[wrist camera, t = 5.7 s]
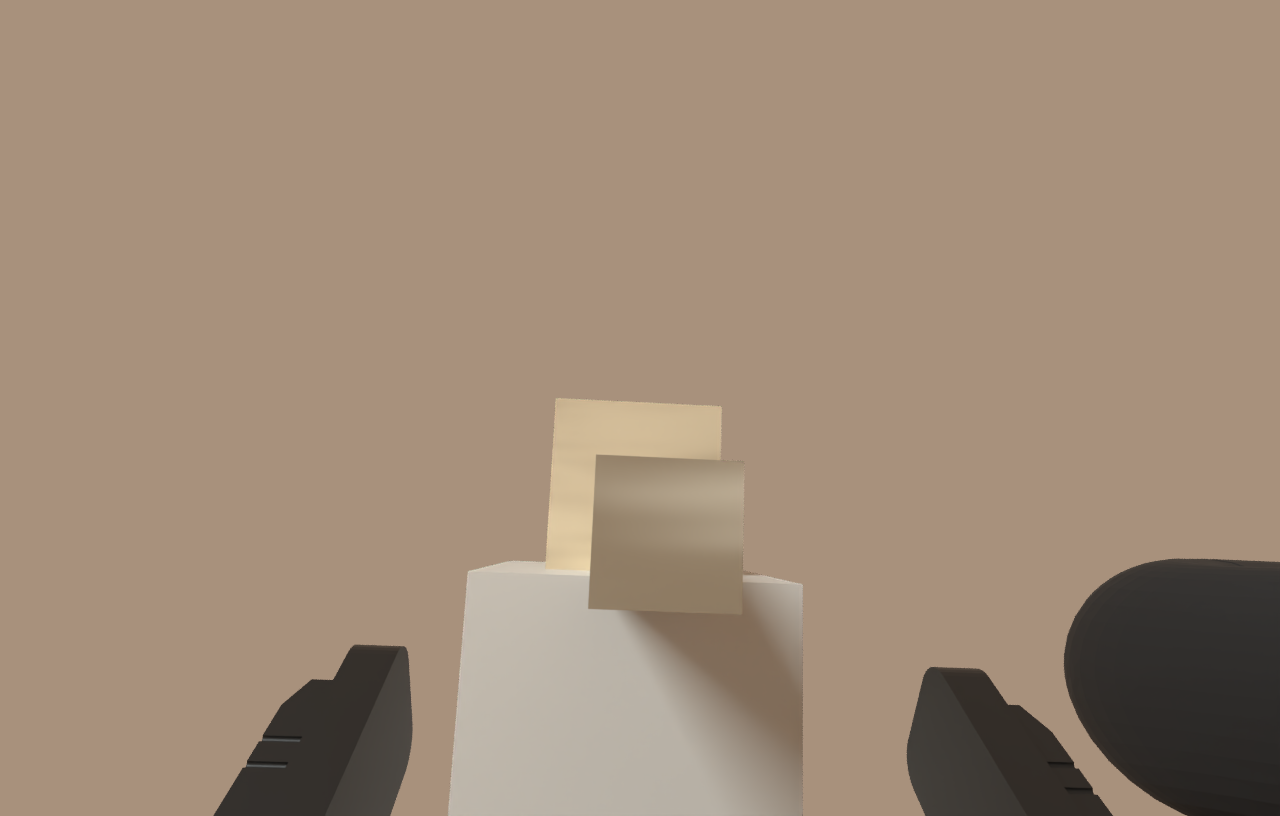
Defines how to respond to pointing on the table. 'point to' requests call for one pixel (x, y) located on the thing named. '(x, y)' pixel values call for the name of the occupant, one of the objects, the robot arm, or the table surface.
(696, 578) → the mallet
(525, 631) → the stand
